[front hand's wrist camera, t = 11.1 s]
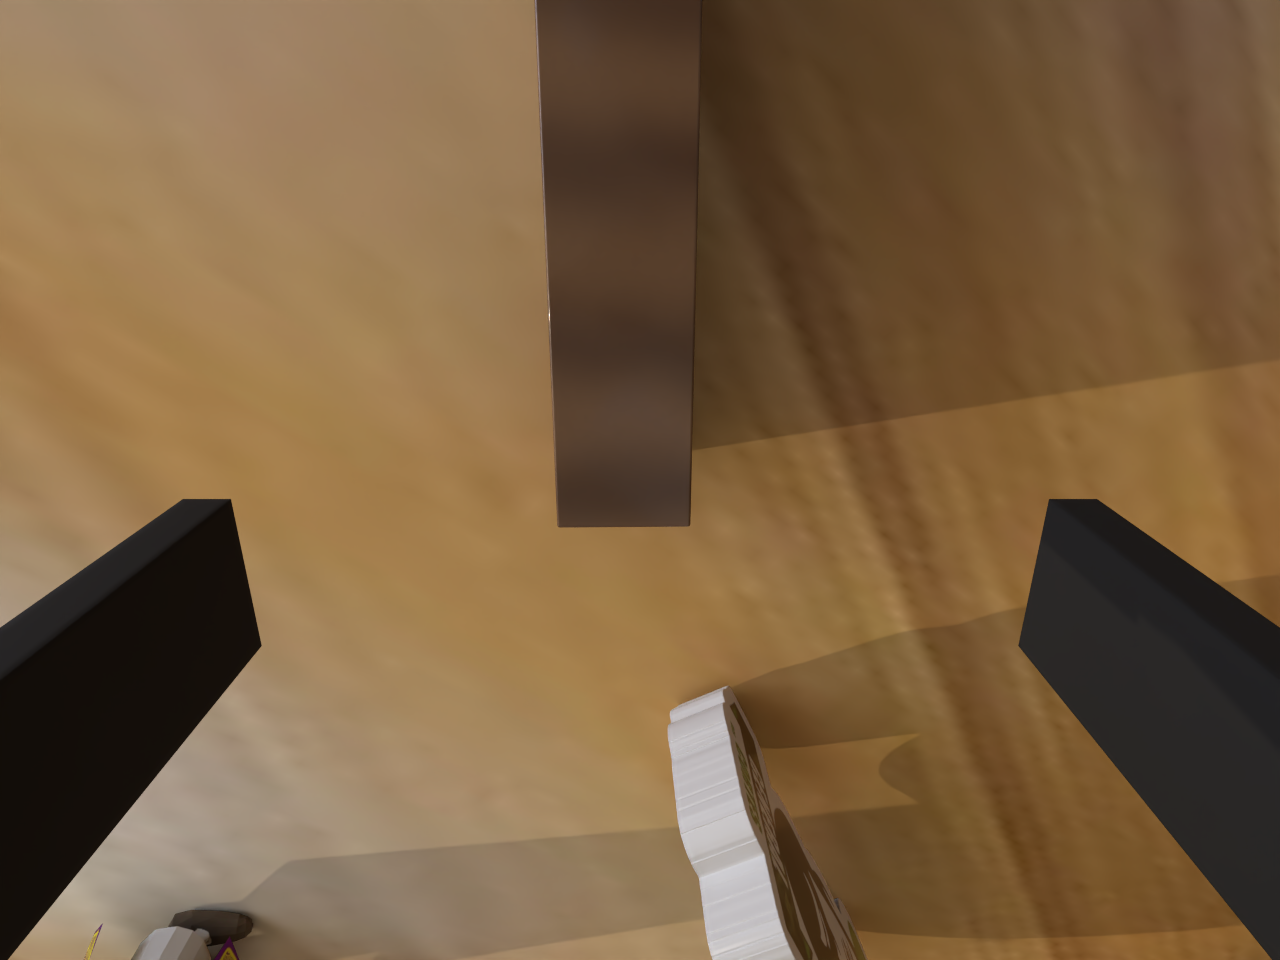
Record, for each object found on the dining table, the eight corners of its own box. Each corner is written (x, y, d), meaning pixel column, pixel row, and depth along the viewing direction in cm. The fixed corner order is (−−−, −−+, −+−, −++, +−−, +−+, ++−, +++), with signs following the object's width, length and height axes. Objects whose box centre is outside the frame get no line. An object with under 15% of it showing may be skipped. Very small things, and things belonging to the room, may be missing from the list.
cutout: (671, 894, 26) (921, 1329, 32) (746, 867, 26) (984, 1312, 32) (666, 664, 41) (839, 995, 47) (713, 644, 40) (882, 981, 47)
